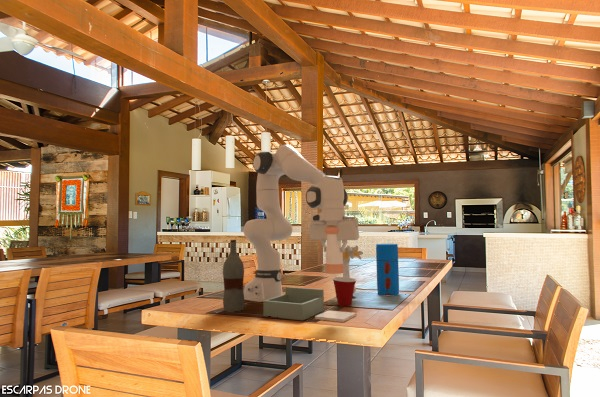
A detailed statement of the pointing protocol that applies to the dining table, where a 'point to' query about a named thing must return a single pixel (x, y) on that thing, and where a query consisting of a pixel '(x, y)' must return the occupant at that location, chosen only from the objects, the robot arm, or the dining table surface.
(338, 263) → the pepper shaker
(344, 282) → the plastic cup
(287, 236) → the robot arm
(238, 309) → the bottle
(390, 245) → the blue tall boxy piece
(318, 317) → the ceramic tile
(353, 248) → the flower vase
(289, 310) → the grey open box
